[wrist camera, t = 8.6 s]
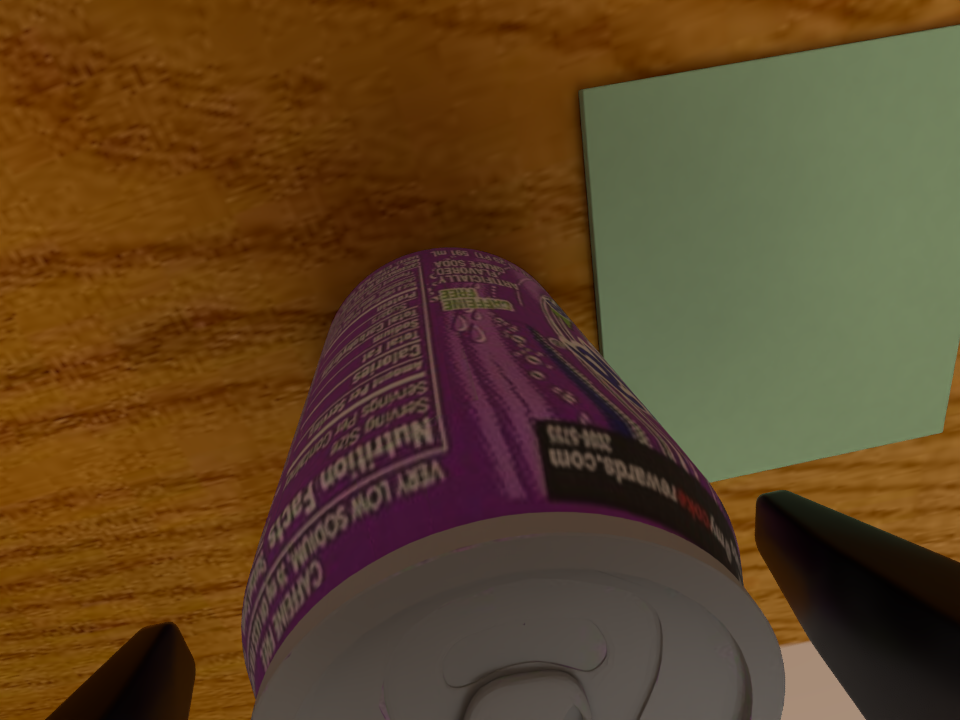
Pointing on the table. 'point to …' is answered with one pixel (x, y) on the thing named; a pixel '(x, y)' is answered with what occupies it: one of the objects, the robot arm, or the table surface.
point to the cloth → (782, 248)
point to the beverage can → (492, 527)
